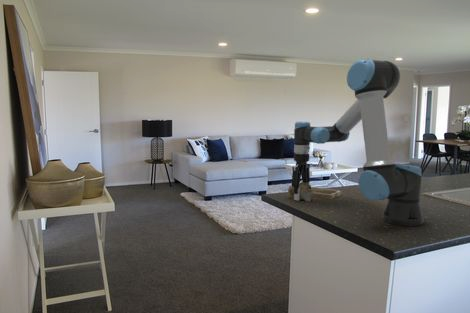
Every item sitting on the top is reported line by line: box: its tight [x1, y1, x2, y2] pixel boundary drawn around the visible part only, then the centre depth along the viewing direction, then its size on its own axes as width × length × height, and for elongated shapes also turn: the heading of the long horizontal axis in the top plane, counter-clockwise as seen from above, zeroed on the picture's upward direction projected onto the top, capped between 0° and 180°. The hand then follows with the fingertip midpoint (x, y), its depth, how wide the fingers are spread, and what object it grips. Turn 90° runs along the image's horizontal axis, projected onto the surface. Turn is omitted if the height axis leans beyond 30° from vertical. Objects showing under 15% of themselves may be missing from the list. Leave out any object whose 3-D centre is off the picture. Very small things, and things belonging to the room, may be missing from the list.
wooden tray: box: [311, 186, 343, 200], centre depth 198 cm, size 13×17×11 cm
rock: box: [287, 181, 314, 203], centre depth 189 cm, size 12×7×10 cm, turn 45°
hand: (300, 198), depth 189 cm, fingers closed on rock, 7 cm apart
